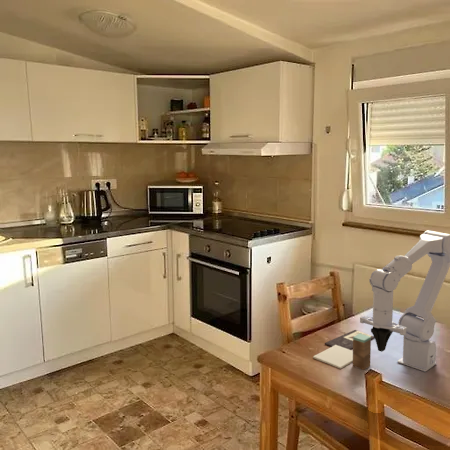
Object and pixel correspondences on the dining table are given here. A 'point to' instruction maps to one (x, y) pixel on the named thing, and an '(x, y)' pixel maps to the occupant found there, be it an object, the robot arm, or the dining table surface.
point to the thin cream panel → (336, 356)
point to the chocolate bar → (346, 340)
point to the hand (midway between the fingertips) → (381, 350)
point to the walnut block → (361, 351)
